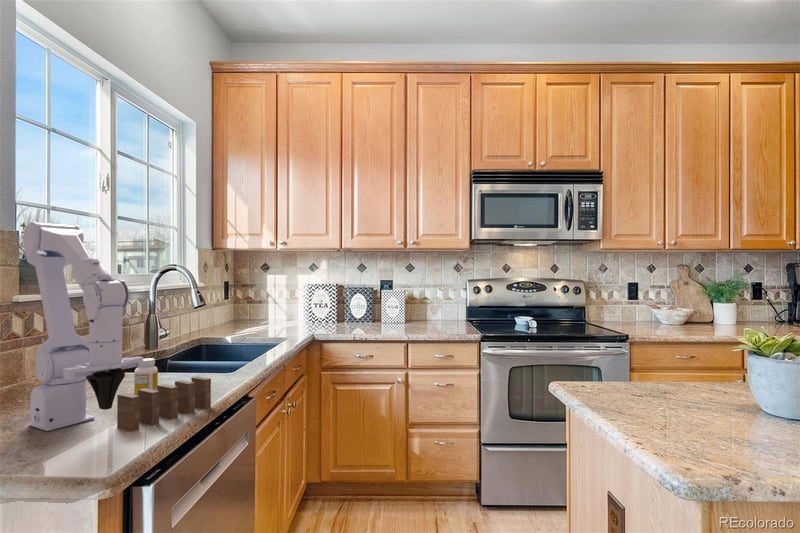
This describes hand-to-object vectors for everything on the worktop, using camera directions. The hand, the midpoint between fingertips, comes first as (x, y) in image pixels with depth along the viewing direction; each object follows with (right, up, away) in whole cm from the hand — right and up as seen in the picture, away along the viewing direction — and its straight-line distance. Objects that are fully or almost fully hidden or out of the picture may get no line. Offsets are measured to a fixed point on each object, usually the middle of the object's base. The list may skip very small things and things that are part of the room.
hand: (105, 408), depth 96 cm
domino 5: (+11, -6, +20) cm, 23 cm away
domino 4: (+9, -6, +16) cm, 19 cm away
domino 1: (+2, -6, +4) cm, 7 cm away
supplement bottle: (-7, -6, +29) cm, 30 cm away
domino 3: (+7, -6, +12) cm, 15 cm away
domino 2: (+4, -6, +8) cm, 11 cm away
